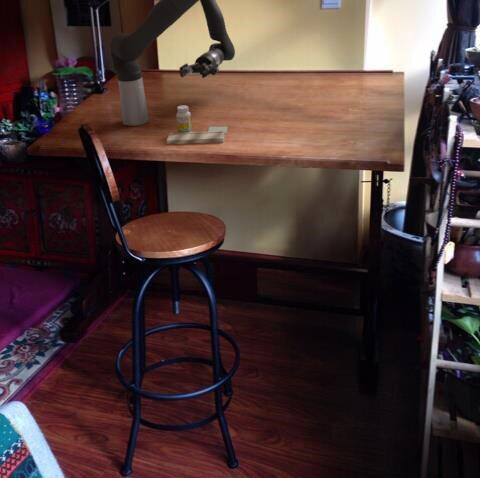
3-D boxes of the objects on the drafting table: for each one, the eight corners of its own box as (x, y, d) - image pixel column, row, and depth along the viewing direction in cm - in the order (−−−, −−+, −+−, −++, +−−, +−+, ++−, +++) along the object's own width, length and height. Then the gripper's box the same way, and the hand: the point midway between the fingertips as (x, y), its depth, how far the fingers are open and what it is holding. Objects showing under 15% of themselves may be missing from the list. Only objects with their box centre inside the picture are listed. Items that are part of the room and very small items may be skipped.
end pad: (207, 134, 227) (207, 133, 227) (209, 127, 233) (209, 127, 233) (226, 133, 227) (226, 133, 227) (227, 127, 233) (227, 126, 233)
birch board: (167, 144, 222) (166, 140, 221) (170, 137, 228) (169, 132, 227) (223, 142, 220) (222, 138, 219) (224, 135, 226) (224, 130, 225)
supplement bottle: (185, 135, 228) (182, 110, 223) (175, 133, 231) (172, 107, 226) (195, 131, 231) (193, 106, 226) (185, 128, 234) (182, 103, 229)
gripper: (189, 53, 244) (173, 64, 231) (224, 53, 240) (209, 65, 227) (191, 72, 248) (175, 84, 235) (225, 72, 244) (211, 85, 231)
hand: (192, 75), depth 231 cm, fingers open, 8 cm apart
